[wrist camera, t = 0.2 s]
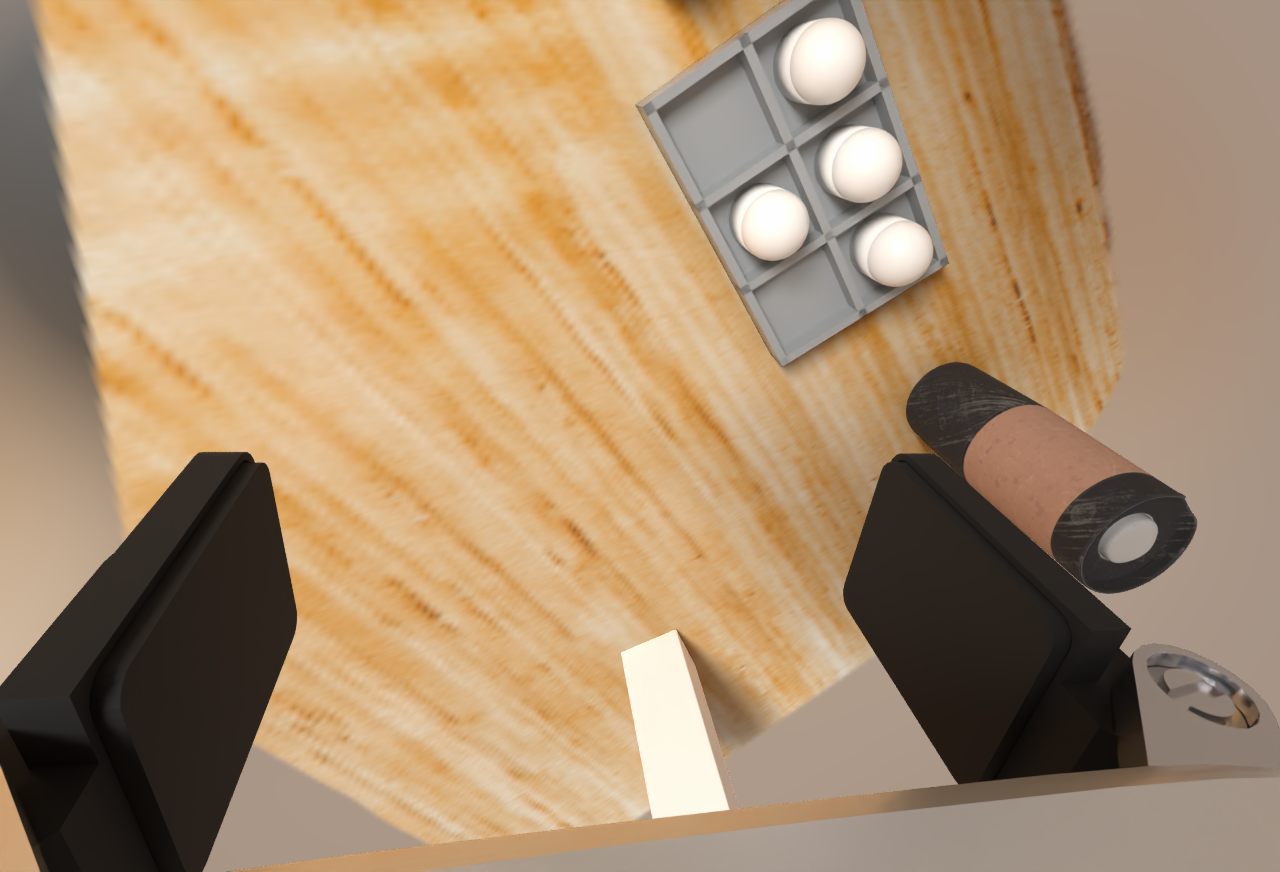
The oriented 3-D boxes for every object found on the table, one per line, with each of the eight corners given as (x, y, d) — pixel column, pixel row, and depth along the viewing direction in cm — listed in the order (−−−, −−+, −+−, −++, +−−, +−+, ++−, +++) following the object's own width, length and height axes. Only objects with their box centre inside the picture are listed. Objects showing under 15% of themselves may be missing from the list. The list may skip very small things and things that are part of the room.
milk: (675, 627, 63) (747, 863, 44) (695, 664, 66) (770, 899, 47) (618, 652, 64) (666, 896, 45) (641, 687, 67) (694, 931, 48)
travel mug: (892, 440, 57) (1059, 601, 39) (915, 359, 53) (1109, 497, 36) (971, 437, 58) (1164, 590, 41) (998, 357, 54) (1223, 489, 37)
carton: (635, 104, 40) (653, 109, 35) (829, -33, 38) (879, -49, 33) (770, 354, 50) (800, 386, 45) (929, 254, 49) (979, 276, 43)
